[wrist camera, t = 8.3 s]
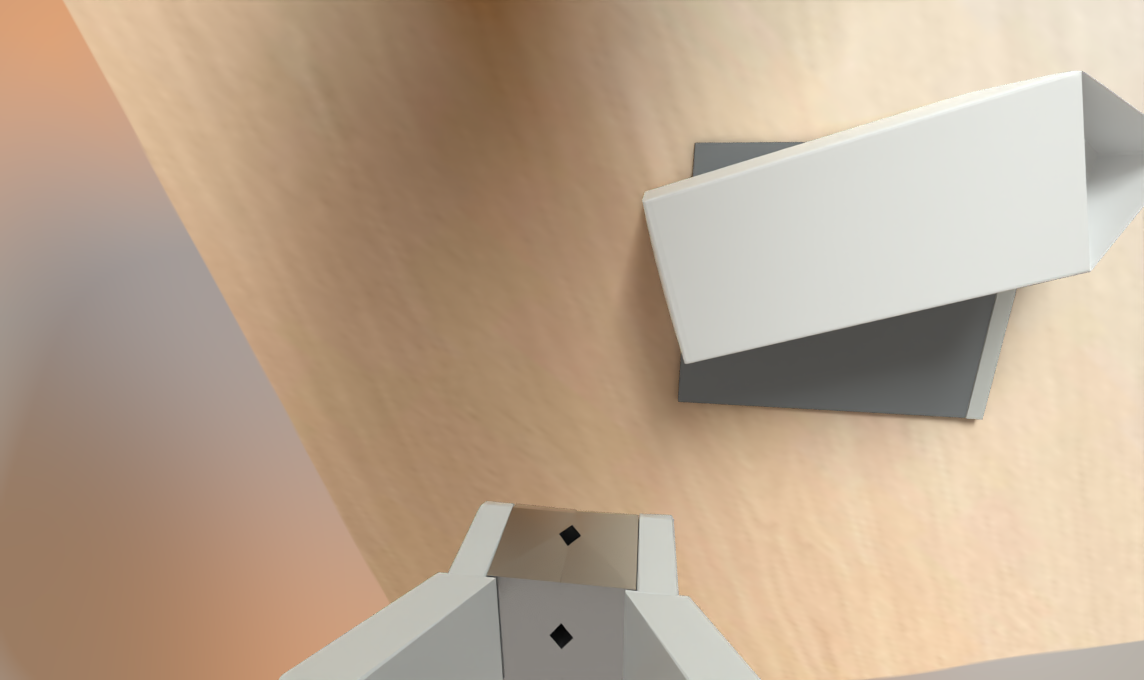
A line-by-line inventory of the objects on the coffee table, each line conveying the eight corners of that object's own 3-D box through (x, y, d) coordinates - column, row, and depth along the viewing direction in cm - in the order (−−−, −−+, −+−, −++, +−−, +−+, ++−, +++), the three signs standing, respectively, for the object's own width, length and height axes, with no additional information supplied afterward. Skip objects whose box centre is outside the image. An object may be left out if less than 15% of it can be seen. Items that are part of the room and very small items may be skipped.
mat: (694, 143, 27) (695, 142, 26) (1048, 141, 25) (1055, 140, 24) (678, 398, 31) (678, 402, 31) (977, 415, 29) (982, 419, 29)
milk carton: (674, 320, 30) (1073, 221, 25) (680, 367, 23) (1225, 242, 19) (641, 192, 28) (1065, 61, 23) (637, 201, 21) (1230, 22, 17)
